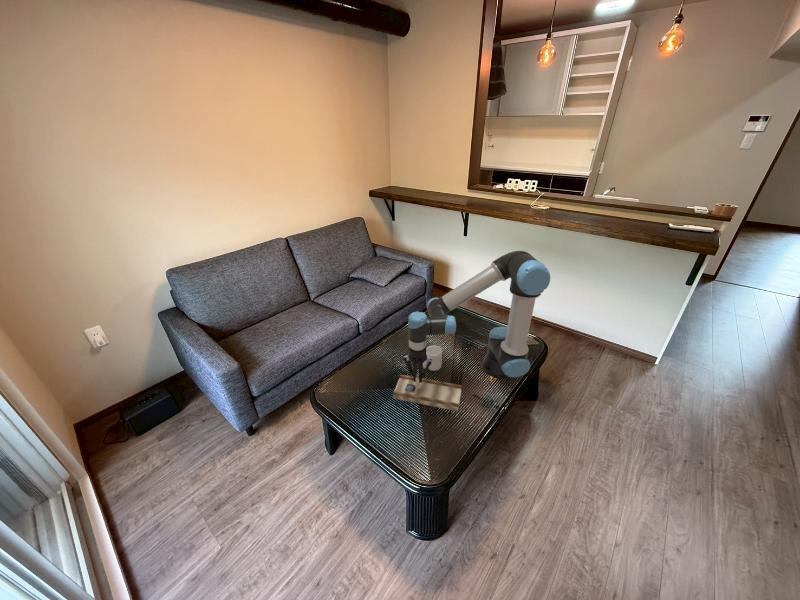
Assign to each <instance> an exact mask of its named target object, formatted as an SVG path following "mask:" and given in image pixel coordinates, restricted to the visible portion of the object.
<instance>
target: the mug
mask: <svg viewBox="0 0 800 600" xmlns="http://www.w3.org/2000/svg"><path fill="white" fill-rule="evenodd" d="M426 355H427V358H429V359H432V363H431V365H430V366H429V368H428V370H429V371H431V372H437V371H439V370H440V369H441V368H442V365H443V364H442V363H443V361H442V360H443V358H442V357H443V349H442V348H441V347H440V346H438V345H429V346H426ZM426 365H427V363H426V361H425V362H424V363H423V369H425V368H426Z"/></svg>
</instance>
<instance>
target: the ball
mask: <svg viewBox="0 0 800 600" xmlns="http://www.w3.org/2000/svg"><path fill="white" fill-rule="evenodd" d="M406 391H409V392H414V389H413V387H412V386H407V387H406Z"/></svg>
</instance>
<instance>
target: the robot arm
mask: <svg viewBox="0 0 800 600" xmlns="http://www.w3.org/2000/svg"><path fill="white" fill-rule="evenodd" d="M508 279H510V285H509V292H510V293H511V295H512V297H511V304H510V309H509V315H508V319H507V320H508V321H507V327H506V326H497V327H493V328H491V330H490V332H489V335H488V342H487V343H488V344H487V352H486V355H484V358H483V359H482V363H481V368H482V370H483V371H484V373H486V374H487V375H489V376H490V377H493V378H498V379H502V378H503V379H505V378H508V377H509V378H519V377H522V376H523V375H526V374H527V373H528V372H529V371H530V369H531V362H530V361H529V360H528V355H529V348H530V347H528V345H527V341H528V336H529V331H530V327H531V322H532V318H533V313H534V307H535V304H536V299H537V298H539V297H541V295H542V293H543V292H544V291H545V290H547V289H548V287H549V285H550V283H551V274H550V270H549V269H548V268H547V267H546V265H545V264H544V263H543V262H541V261H539V260H538V259H537V258H535V257H534V256H533V255H531V254H530V253H529V252H527V251H525V250H515V251H511V252H508V253H505V254H503V255H501V256H499V257H498V258H496V259H495V260H493V261H491V264H490V266H488V267H486V268H485V269H483V270H482V271H480V272H478V273H477V274H475V275H474V276H472V277H471V278H468V280H466V281H464V282H463V283H461V284H460V285H458V286H456V287H455V288H453V289H451V290H450V291H449V292H447V293H446V294H444V295H443V296H440V297H432V298H430V299H429V300H428V301H427V302H426V309H427V310H426V311H427V313H428V315H429V316H427V314H426V313H424V312H423V311H421V312H420V311H413V312H411V313H410V314H409V316H408V321H407V322H408V323H407V327H408V329H407V330H408V354H405V355H404V356H403V361H404V363H405V365H406V369H407V372H408V374H409V375H408V376H412V377H413V378H414V382H416V389H419V387H420V383H421V382H422V378H423V379H426V376H427V373H428V370H429V369H428V368H429V366H430V365H431V363H432V359H429V358H427V355H426V348H427V336H434V335H436V336H438V335H439V336H440V335H451V334H455V333H456V330H457V322H456V317H455V316H453V315H450V314H448V313H450V312H451V311H453V310H455V309H456V308H458V307H459V306H461V305H463V304H464V303H466V302H468V301H469V300H471V299H473V298H475V297H476V296H477V295H479V294H481V293H482V292H484V291H486V290H487V289H489V288H491V287H492V286H495V285H496V284H497V283H498V282H500V281H502V282H505V281H507V280H508ZM425 361H426V363H427V365H426V364H425V366H426V368H423V363H424V362H425ZM411 362H412V363H411ZM423 370H424V372H423Z"/></svg>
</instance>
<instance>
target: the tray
mask: <svg viewBox="0 0 800 600" xmlns="http://www.w3.org/2000/svg"><path fill="white" fill-rule="evenodd" d="M407 386H412V387H413V390H414V391H413V392H409V391H406V387H407ZM462 387H463V385H462V384H457V383H450V382H446V381H445V382H444V381H440V380H434V379H427V378H423V377H422V382H421V383H420V387H419V389H416V382H414V378H413V376H412V375H406V374H404V375H403V374H399V379H398V380H397V383H396V386H395V389H394V390H392V399H395V400H398V401H399V400H400V401H403V402H409V403H415V404H419V405H425V406H429V407H434V408H440V409H445V410H449V411H454V412H459V407H460V402H461V397H462V396H461V395H462V389H463V388H462Z"/></svg>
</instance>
